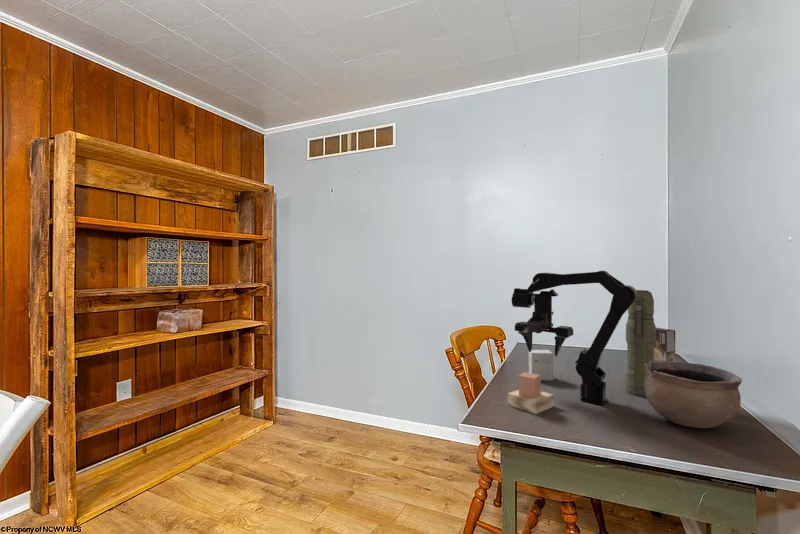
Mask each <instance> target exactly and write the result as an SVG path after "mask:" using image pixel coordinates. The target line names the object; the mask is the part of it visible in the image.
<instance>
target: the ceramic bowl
mask: <svg viewBox="0 0 800 534" xmlns="http://www.w3.org/2000/svg"><path fill="white" fill-rule="evenodd" d="M649 364H650V365H649ZM649 364H647V363H644V366H645V370H646V372H647V373H646V376H645V378H644V390H645V395H646V397H645V398H646V399H647V401H648V403H649V404H650V405H651V406H652V408H653V409H654V410H655V412H656V413H658V414H659V415H660V416H661V417H662V418H664V420H665V419H666V420H667V421H669V422H671V423H672V424H673V423H674V424H677V425H679V426H683V427H687V428H691V429H692V428H693V429H713V428H716V427H719V426H720V425H722V424H724V423H726V422H728V421H729V420H731V419H733V418H734V417H735V416H736V415H737V413H738V412H739V409H740V407H741V398H742V397H741V394H740V390H739V386H740V385H741V384H742V382H743V379H742V378H741V377H740V376H738V375H736V374H735V373H733V372H731V371H728V370H725V369H721V368H718V367H715V366H711V365H706V364H702V363H692V362H687V361H686V362H685V361H681V360H675V361H662V360H655V361H649Z"/></svg>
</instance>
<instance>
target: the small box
mask: <svg viewBox="0 0 800 534" xmlns="http://www.w3.org/2000/svg"><path fill="white" fill-rule="evenodd" d="M528 373H533V374H539V375H541V381H554V353H553V352H552V351H551V350H549V349H532V351H531V352H529V351H528Z"/></svg>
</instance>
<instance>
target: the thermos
mask: <svg viewBox="0 0 800 534" xmlns="http://www.w3.org/2000/svg"><path fill="white" fill-rule="evenodd" d="M636 291H637V294H638V295H637V298H636V300H635V301H634V302H633V304H632V305H631V306H630V307H629V308H628V310H627V313H628V316H627V321H626V324H625V341H626V344H627V347H626V349H627V351H626V353H627V355H626V356H627V357H626V358H627V359H626V360H627V361H626V367H627V368H626V372H625V375H624V376H625V381H624V384H625V392H626V393H627V394H629V395H632V396H635V397H642V398H647V397H646V395H645V390H644V378H645V376H646V373H647V372H646V370H645V366H644V363H647V364H649V361H654V345H655V343H656V328H657V327H656V324H655V319H654V318H655V317H654V314H655V299H654V297H653V294H652V292H651V291H649V290H646V289H645V290H643V289H642V290H641V289H636ZM649 365H650V364H649Z"/></svg>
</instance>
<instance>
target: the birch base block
mask: <svg viewBox="0 0 800 534" xmlns="http://www.w3.org/2000/svg"><path fill="white" fill-rule="evenodd" d="M507 405H508V406H511V407H514V408H517V409H519V410H523V411H525V412H528V413H531V414H535V415H538V414H540V413H542V412H544V411H546V410H549V409H551V408H553V407H555V394H552V393H549V392H546V391H542V390H541V394H540V395H539V396H537V397H536V398H531V397H526V396H522V395H519V388H518V389H516V390H513V391H510V392H508V393H507Z"/></svg>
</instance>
